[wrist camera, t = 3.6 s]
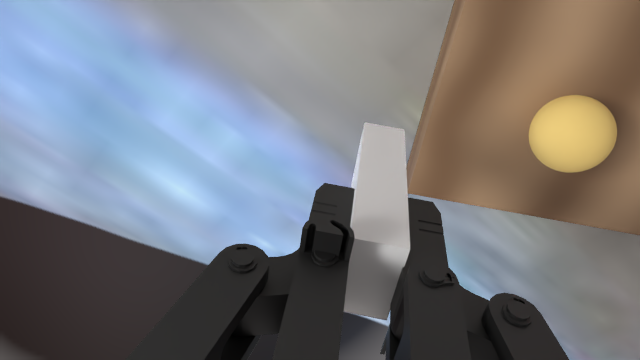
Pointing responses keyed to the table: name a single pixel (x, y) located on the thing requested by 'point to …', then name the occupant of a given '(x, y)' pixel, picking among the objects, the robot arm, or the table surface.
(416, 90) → the table surface
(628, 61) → the board
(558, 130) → the ball
